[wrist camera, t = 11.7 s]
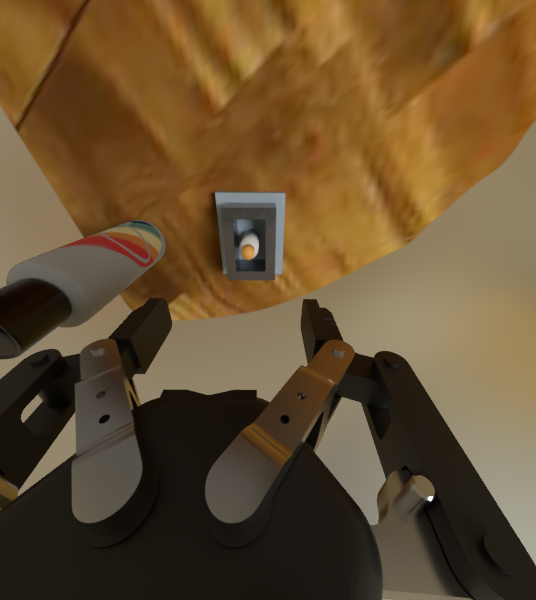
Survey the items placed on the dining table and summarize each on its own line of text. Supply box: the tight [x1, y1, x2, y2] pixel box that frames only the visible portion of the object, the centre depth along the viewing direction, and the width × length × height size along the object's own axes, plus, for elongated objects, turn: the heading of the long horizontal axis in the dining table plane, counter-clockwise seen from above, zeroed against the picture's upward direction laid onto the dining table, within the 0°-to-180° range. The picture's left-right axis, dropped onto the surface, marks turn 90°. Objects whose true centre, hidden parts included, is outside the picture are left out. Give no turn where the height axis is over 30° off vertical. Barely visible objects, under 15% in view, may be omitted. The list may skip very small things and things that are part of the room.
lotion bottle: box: [0, 220, 166, 359], centre depth 21 cm, size 6×6×20 cm
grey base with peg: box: [215, 191, 285, 274], centre depth 26 cm, size 10×8×8 cm
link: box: [221, 202, 276, 280], centre depth 26 cm, size 8×6×4 cm
